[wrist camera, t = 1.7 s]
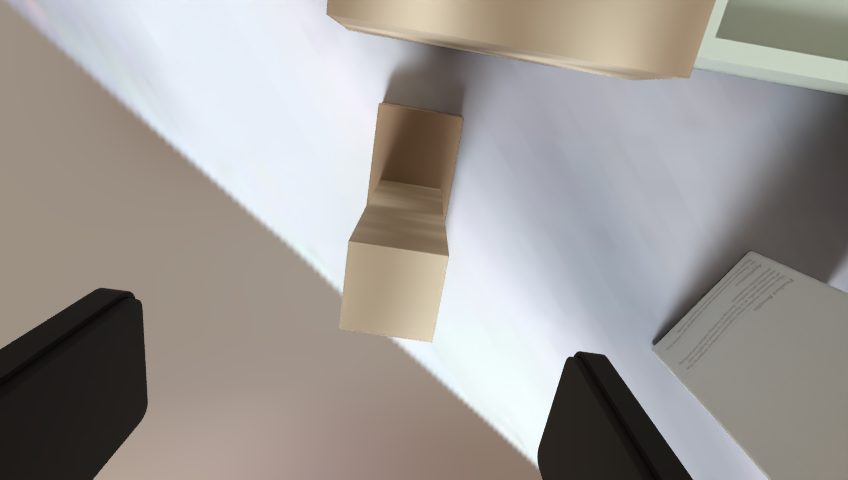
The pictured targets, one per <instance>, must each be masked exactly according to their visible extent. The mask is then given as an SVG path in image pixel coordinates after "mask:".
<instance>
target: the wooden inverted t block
mask: <svg viewBox="0 0 848 480" xmlns="http://www.w3.org/2000/svg"><path fill="white" fill-rule="evenodd" d="M463 120H464V118H463V117H462V116H461V115H455V114H449V113H443V112H437V111H431V110H425V109H419V108H413V107H407V106H402V105H396V104H390V103H384V102H382V103H380V104H379V106H378V114H377V123H376V131H375V139H374V148H373V156H372V164H371V172H370V181H369V189H368V197H367V206H366V208H365V210H364V212H363V214H362V216H361V218H360V220H359V222H358V224H357V226H356V228H355V230H354V231H353V233H352V235H351V237H350V239H349V242H348V251H347V260H346V270H345V279H344V288H343V297H342V306H341V315H340V324H339V329H342V330H349V331H356V332H363V333H370V334H377V335H384V336H391V337H398V338H405V339H412V340H419V341H426V342H433V337H434V331H435V326H436V321H437V316H438V311H439V305H440V300H441V295H442V290H443V285H444V280H445V274H446V269H447V264H448V259H449V252H448V245H447V237H446V229H445V218H446V212H447V207H448V202H449V196H450V191H451V185H452V180H453V175H454V169H455V164H456V158H457V153H458V147H459V142H460V137H461V131H462V126H463Z"/></svg>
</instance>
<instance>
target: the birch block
mask: <svg viewBox="0 0 848 480" xmlns="http://www.w3.org/2000/svg"><path fill="white" fill-rule="evenodd" d="M715 2H716V0H328V1H327V15H328V16H330V17H331V18H332V19H334V20H335V21H337V22H338V23H339V24H341V25H342V26H344V27H345V28H346V29H348V30H349V31H355V32H361V33H366V34H372V35H378V36H383V37H389V38H395V39H401V40H406V41H412V42H418V43H423V44H429V45H435V46H441V47H446V48H452V49H458V50H463V51H469V52H475V53H481V54H486V55H492V56H498V57H503V58H509V59H515V60H521V61H526V62H532V63H538V64H543V65H549V66H555V67H561V68H566V69H572V70H578V71H583V72H589V73H595V74H601V75H606V76H612V77H618V78H623V79H629V80H648V79H680V78H690V75H691V72H692V69H693V66H694V63H695V60H696V57H697V54H698V52H699V49H700V46H701V43H702V40H703V37H704V34H705V31H706V28H707V25H708V22H709V19H710V16H711V13H712V10H713V8H714V5H715Z"/></svg>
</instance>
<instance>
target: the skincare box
mask: <svg viewBox="0 0 848 480" xmlns="http://www.w3.org/2000/svg"><path fill="white" fill-rule="evenodd" d="M652 351H653V352H654V353H655V355H656V356H657V357H658V358H659V359H660V360H661V361H662V362H663V364H664V365H665V366H666V367H667V368H668V369H669V370H670V371H671V372H672V373H673V374H674V376H675V377H676V378H677V379H678V380H679V381H680V382H681V383H682V384H683V385H684V386H685V388H686V389H687V390H688V391H689V392H690V393H691V394H692V395H693V396H694V397H695V399H696V400H697V401H698V402H699V403H700V404H701V405H702V406H703V407H704V408H705V410H706V411H707V412H708V413H709V414H710V415H711V416H712V417H713V418H714V419H715V421H716V422H717V423H718V424H719V425H720V426H721V427H722V428H723V429H724V431H725V432H726V433H727V434H728V435H729V436H730V437H731V438H732V439H733V441H734V442H735V443H736V444H737V445H738V446H739V447H740V448H741V449H742V451H743V452H744V453H745V454H746V455H747V456H748V457H749V458H750V459H751V461H752V462H753V463H754V464H755V465H756V466H757V467H758V468H759V469H760V471H761V472H762V473H763V474H764V475H765V476H766V477H767V478H768V479H769V480H848V293H846V292H844V291H841V290H839V289H837V288H835V287H832V286H830V285H828V284H825V283H823V282H821V281H819V280H816V279H814V278H812V277H810V276H807V275H805V274H803V273H801V272H798V271H796V270H794V269H792V268H789V267H787V266H785V265H783V264H780V263H778V262H776V261H774V260H771V259H769V258H767V257H765V256H762V255H760V254H758V253H756V252H753V251H749V252H748V253H747V254H746V255H745V256H744V257H743V258H742V259H741V260H740V261H739V262H738V263H737V264H736V265H735V266H734V267H733V268H732V269H731V270H730V271H729V272H728V273H727V274H726V275H725V276H724V277H723V278H722V279H721V280H720V281H719V282H718V283H717V284H716V285H715V286H714V287H713V288H712V289H711V290H710V291H709V292H708V293H707V294H706V295H705V296H704V297H703V298H702V299H701V300H700V301H699V302H698V303H697V304H696V305H695V306H694V307H693V308H692V309H691V310H690V311H689V312H688V313H687V314H686V315H685V316H684V317H683V318H682V319H681V320H680V321H679V322H678V323H677V324H676V325H675V326H674V327H673V328H672V329H671V330H670V331H669V332H668V333H667V334H666V335H665V336H664V337H663V338H662V339H661V340H660V341H659V342H658V343H657V344H656V345H655V346H654V347H653V348H652Z"/></svg>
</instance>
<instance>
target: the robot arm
mask: <svg viewBox="0 0 848 480" xmlns="http://www.w3.org/2000/svg"><path fill="white" fill-rule="evenodd" d="M145 364H146V363H145V346H144V328H143V310H142V304H141V302H140V301H139V300H137V299H135V297H134V294H133V293H131V292H129V291H122V290H114V289H106V288H99V289H96V290H94V291H93V292H91V293H90V294H88V295H86V296H85V297H83V298H82V299H80V300H78V301H77V302H75V303H74V304H72V305H70V306H69V307H68V308H66V309H64V310H62V311H61V312H59V313H58V314H56V315H55V316H53V317H51V318H50V319H48V320H47V321H45V322H44V323H42V324H40V325H39V326H37V327H36V328H34V329H32V330H31V331H29V332H27V333H26V334H24V335H23V336H21V337H19V338H18V339H16V340H15V341H13V342H11V343H10V344H8V345H7V346H5V347H4V348H2V349H0V480H93V478H94V477H95V476H96V475H97V474H98V472H99V471H100V470H101V469H102V468H103V466H104V465H105V464H106V463H107V462H108V460H109V459H110V458H111V457H112V456H113V454H114V453H115V452H116V451H117V449H118V448H119V447H120V446H121V445H122V444H123V442H124V441H125V440H126V439H127V437H128V436H129V435H130V434H131V433H132V431H133V430H134V429H135V428H136V427H137V425H138V424H139V423H140V422H141V420H142V419H143V417H144V415H145V413H146V409H147V404H148V401H147V400H148V399H147V384H146V383H147V381H146V365H145ZM538 466H539V469H540V473H541V476H542V479H543V480H693V479H692V478H691V476H690V475H689V473H688V472H687V470H686V469H685V468H684V466H683V465H682V463H681V462H680V460H679V459H678V458H677V456H676V455H675V453H674V452H673V451H672V449H671V448H670V446H669V445H668V443H667V442H666V441H665V439H664V438H663V436H662V435H661V433H660V432H659V431H658V429H657V428H656V426H655V425H654V424H653V422H652V421H651V419H650V418H649V416H648V415H647V414H646V412H645V411H644V409H643V408H642V407H641V405H640V404H639V402H638V401H637V399H636V398H635V397H634V395H633V394H632V392H631V391H630V389H629V388H628V387H627V385H626V384H625V382H624V381H623V380H622V378H621V377H620V375H619V374H618V372H617V371H616V370H615V368H614V367H613V365H612V364H611V362H610V361H609V360H608V358H607V357H606V356H605V355H602V354H595V353H588V352H580V351H579V352H577V353H576V354H575V355H574V357H568V358H567V360H566V362H565V365H564V368H563V371H562V374H561V378H560V381H559V384H558V387H557V391H556V394H555V397H554V400H553V403H552V407H551V410H550V413H549V416H548V419H547V423H546V426H545V429H544V432H543V435H542V439H541V442H540V445H539V448H538Z"/></svg>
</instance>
